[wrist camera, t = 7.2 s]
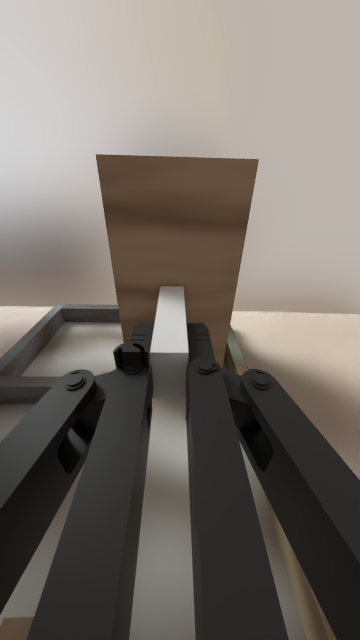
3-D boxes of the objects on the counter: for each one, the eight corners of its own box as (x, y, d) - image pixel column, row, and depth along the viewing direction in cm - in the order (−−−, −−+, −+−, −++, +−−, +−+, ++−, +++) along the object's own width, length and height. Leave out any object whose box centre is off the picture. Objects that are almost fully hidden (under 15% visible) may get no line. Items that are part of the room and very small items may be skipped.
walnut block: (219, 383, 19) (258, 159, 10) (129, 382, 19) (95, 154, 10) (208, 331, 26) (226, 170, 17) (142, 331, 26) (127, 168, 17)
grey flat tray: (346, 713, 8) (393, 727, 6) (-284, 742, 7) (-418, 765, 5) (220, 325, 29) (222, 306, 27) (62, 324, 28) (56, 304, 27)
